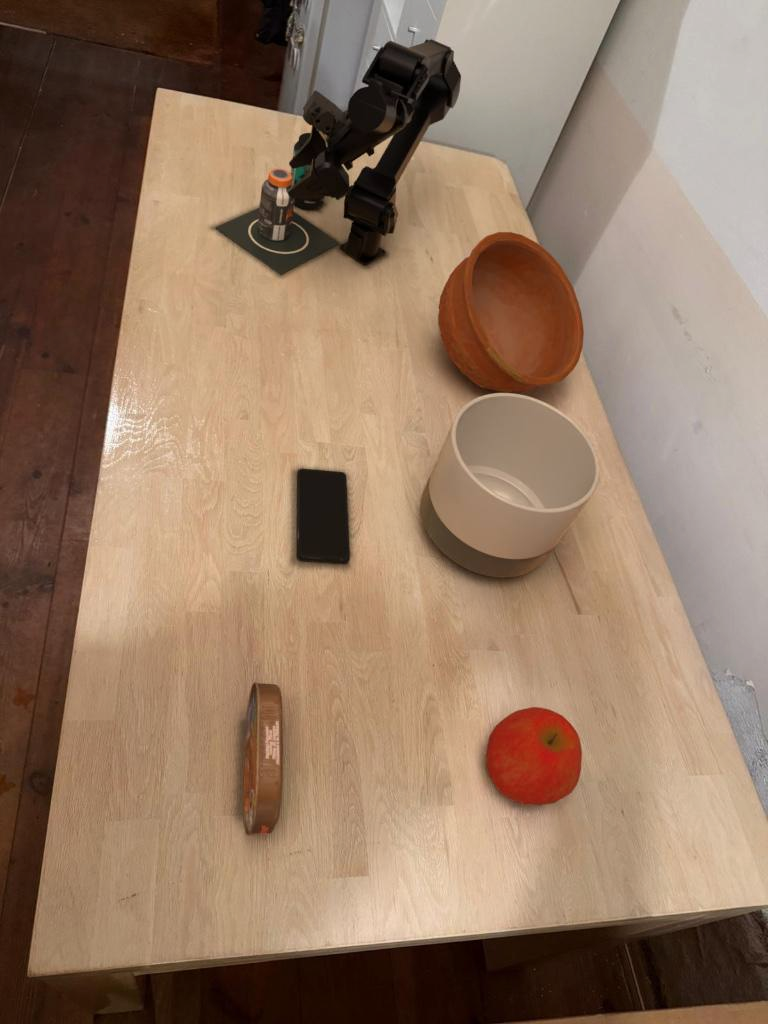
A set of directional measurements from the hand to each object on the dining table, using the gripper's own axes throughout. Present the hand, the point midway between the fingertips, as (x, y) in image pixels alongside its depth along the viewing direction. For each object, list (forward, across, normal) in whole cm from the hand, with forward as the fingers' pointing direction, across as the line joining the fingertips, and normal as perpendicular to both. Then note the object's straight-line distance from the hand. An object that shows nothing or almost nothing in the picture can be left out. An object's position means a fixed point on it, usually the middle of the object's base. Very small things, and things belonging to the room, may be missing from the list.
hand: (289, 180), depth 122 cm
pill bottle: (+10, -5, +8) cm, 15 cm away
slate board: (+10, -5, +9) cm, 14 cm away
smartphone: (+5, +58, +16) cm, 60 cm away
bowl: (-14, +19, +31) cm, 39 cm away
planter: (-11, +58, +32) cm, 67 cm away
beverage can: (+6, -18, +13) cm, 23 cm away
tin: (+10, +92, +11) cm, 93 cm away
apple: (-11, +91, +32) cm, 97 cm away
